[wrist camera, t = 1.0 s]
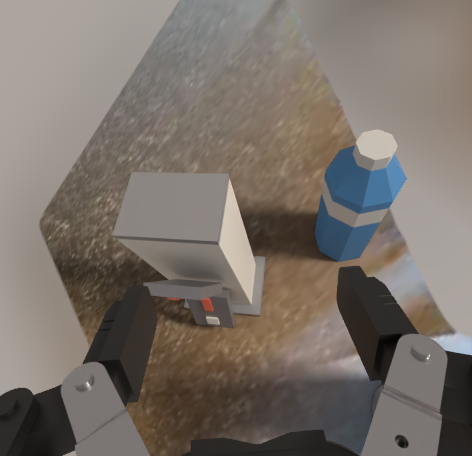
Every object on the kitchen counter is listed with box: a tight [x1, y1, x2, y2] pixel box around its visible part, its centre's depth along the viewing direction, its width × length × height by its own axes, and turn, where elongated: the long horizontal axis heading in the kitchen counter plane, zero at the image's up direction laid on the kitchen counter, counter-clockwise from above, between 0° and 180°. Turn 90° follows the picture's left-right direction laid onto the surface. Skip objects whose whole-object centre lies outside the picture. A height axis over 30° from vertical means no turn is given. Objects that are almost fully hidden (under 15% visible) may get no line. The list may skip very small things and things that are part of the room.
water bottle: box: [314, 129, 407, 262], centre depth 44 cm, size 9×9×25 cm
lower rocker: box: [186, 290, 235, 328], centre depth 45 cm, size 1×6×9 cm, turn 83°
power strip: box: [112, 172, 266, 317], centre depth 42 cm, size 10×13×29 cm
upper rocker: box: [143, 279, 223, 300], centre depth 35 cm, size 2×6×9 cm, turn 83°
